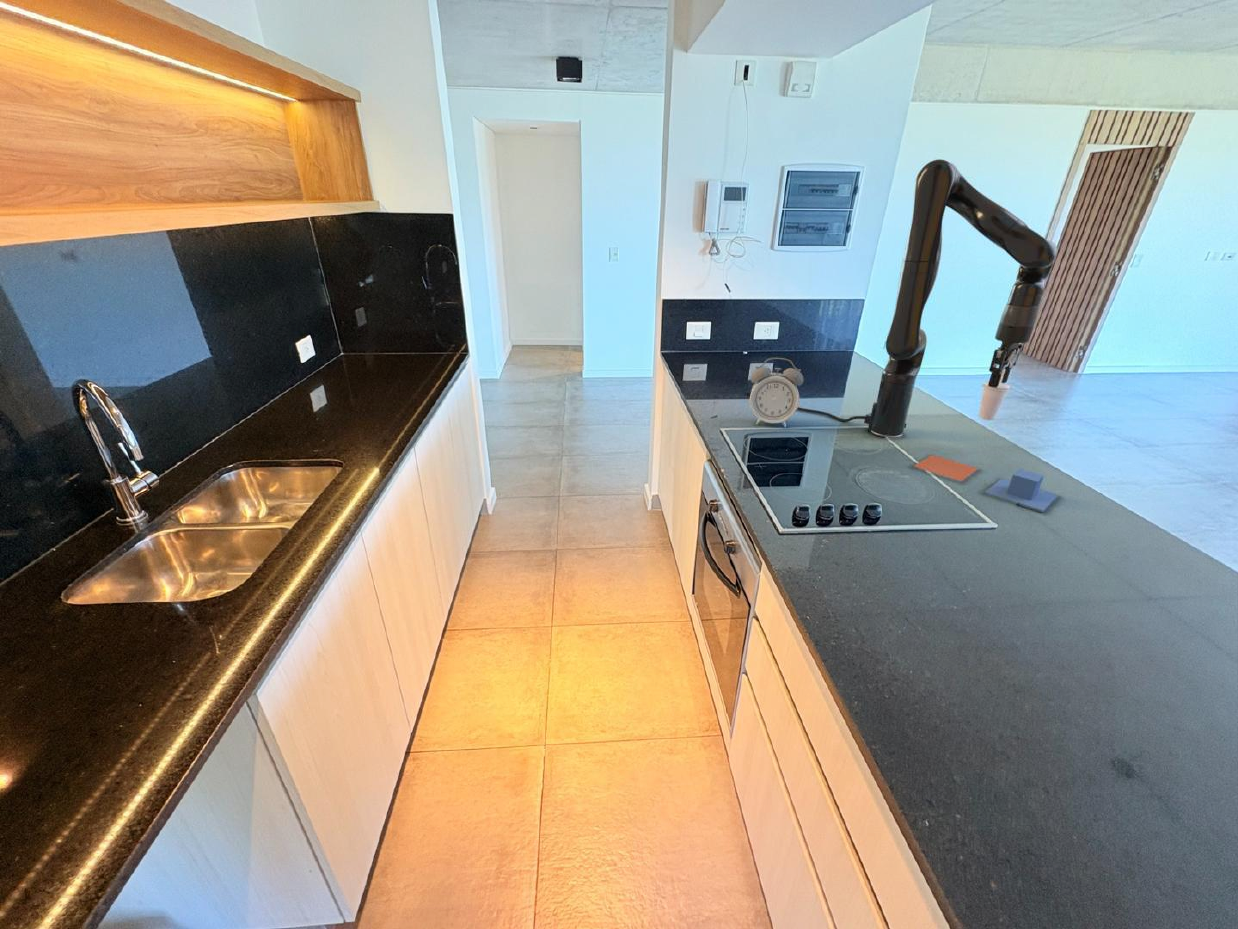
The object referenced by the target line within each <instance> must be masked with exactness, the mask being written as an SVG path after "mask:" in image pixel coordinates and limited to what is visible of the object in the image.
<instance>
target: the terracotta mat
mask: <svg viewBox="0 0 1238 929" xmlns="http://www.w3.org/2000/svg"><path fill="white" fill-rule="evenodd" d="M913 467H914V468H918V469H921V470H924V471H926V472H929V473H932V474H937V475H938V476H939V475H940V476H943V477H946V478H949V479H952V480H955V481H959V482H963V481H964V480H965V479H967V478H968V477H969V476H971V475H973V474H974V473H975V472H977V471H979V468H978V467H975V466H972V465H969V464H966V463H962V462H958V461H954V460H951V459H948V458H944V457H940V456H937V455H934V454H931V455H929V456H927V457H926V458H924V459H922V460H921V461H919V462H918V463H916V464H914V465H913Z"/></svg>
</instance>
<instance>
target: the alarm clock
mask: <svg viewBox="0 0 1238 929" xmlns="http://www.w3.org/2000/svg"><path fill="white" fill-rule="evenodd" d="M771 360H782V361H787V362H789V363H790V364H791V365H792V367H789V368H786V369H784V370H783V372H782V373H780V372H779V371H781V370H782V368H781V367H775V368H774V370H775V371H776V372H773V371H772V369H771V368H770V367H768V366H764V365H765V364H766V363H767V362H768V361H771ZM754 367H755V369H754V370H753V371H752V372H751V374H750V377H749V378H750V382H751V384H753V385H752V387H751V391H750V392H751V395H749V406H750V410H751V412H752V413H753V415H754V416H755V417H756V418H757V421H756V423H755V424H756V425H758V424H759V423H761V421H762V422H764V423H768V424H781V423H782V425H783V426H784V428H787V424H786V421H788V420H789V419H791V418H792V417H793V416H794V415H795V413H796V412H797V411H798V410H797V408H798V407H799V405H800V393H799V389H798V387H801V386H802V385H803V383H804V376H803V374H802V373H801V371H802V369H801V368H799V369H798V368H797V367H795V365H794V362H793V361H792V360H790V359H788V358H785V357H770V358H767V359H765V360H764V362H763V363H762V364H761V365H759V366H754Z"/></svg>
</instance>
